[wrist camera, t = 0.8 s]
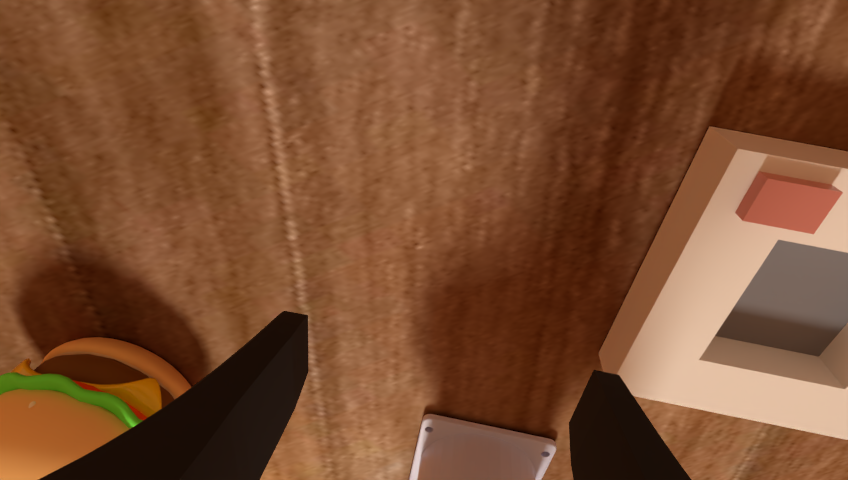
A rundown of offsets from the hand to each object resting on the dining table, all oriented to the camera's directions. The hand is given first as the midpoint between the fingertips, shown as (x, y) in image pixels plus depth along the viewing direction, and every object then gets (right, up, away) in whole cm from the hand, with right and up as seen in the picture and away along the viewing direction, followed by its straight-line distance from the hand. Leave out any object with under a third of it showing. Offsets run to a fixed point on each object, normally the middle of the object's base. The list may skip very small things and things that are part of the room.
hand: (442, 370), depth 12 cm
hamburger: (-20, -6, +19) cm, 28 cm away
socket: (+15, +1, +8) cm, 17 cm away
